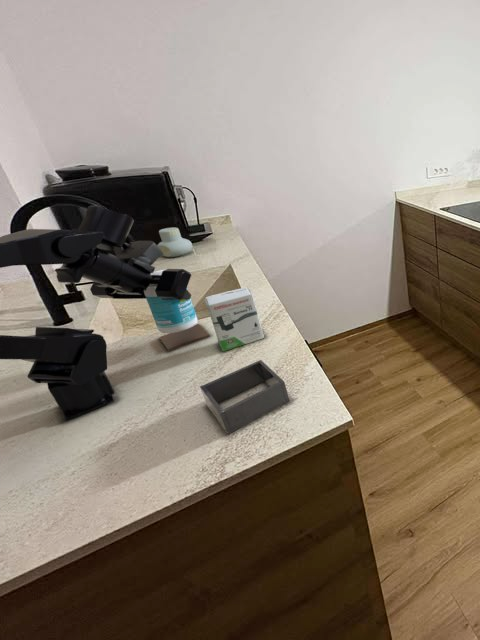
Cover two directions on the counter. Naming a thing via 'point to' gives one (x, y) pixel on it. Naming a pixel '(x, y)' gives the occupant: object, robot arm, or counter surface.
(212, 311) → the ink box
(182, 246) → the air freshener
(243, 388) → the sink basin
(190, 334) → the trivet
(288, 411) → the counter surface
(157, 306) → the pill bottle
